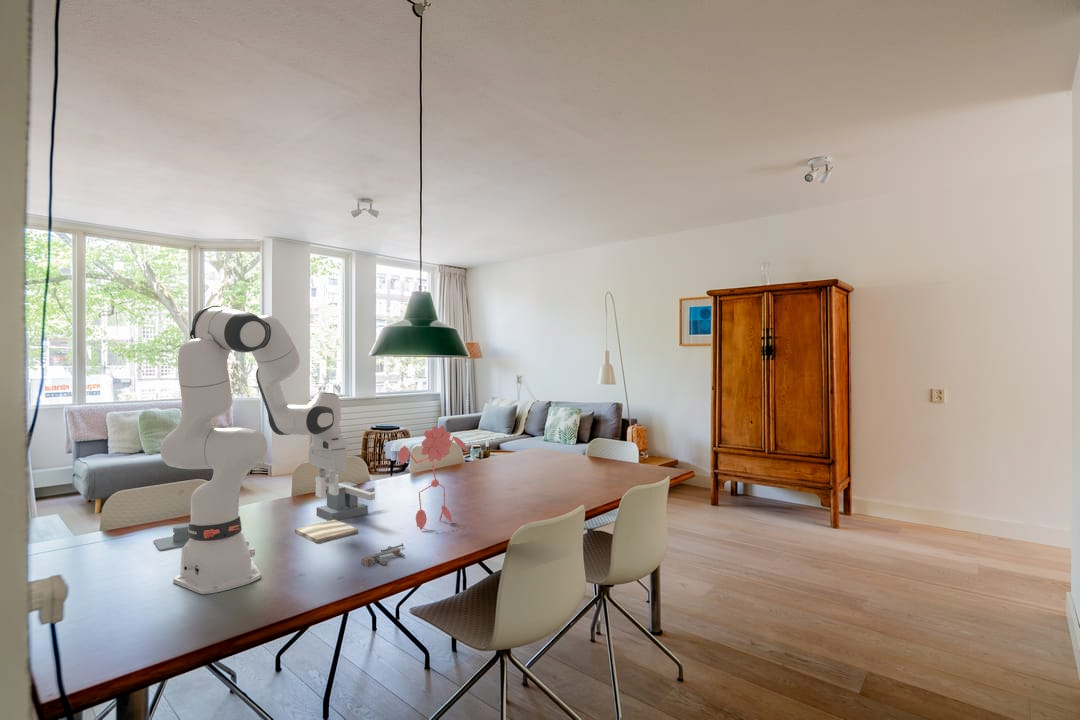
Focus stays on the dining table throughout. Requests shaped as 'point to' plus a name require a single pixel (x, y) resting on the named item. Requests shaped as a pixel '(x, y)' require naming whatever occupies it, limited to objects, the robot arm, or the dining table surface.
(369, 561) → the clamp
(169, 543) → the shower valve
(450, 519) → the pink stick figure
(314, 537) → the ash board
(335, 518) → the grey machinist vise
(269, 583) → the dining table surface
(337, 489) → the white notched block
